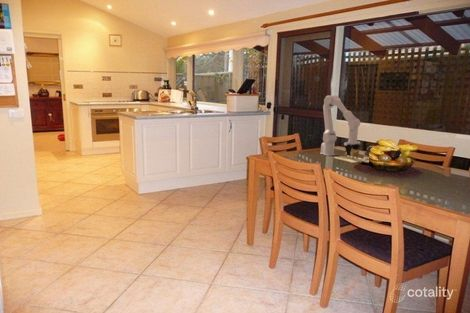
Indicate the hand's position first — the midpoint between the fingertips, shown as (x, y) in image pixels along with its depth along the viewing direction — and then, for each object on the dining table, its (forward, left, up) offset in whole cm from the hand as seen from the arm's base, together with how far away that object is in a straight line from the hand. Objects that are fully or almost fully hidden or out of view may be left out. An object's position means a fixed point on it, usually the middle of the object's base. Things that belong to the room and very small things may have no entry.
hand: (351, 154), depth 249 cm
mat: (0, 0, -3) cm, 3 cm away
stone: (+17, +1, -4) cm, 17 cm away
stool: (0, 0, -2) cm, 2 cm away
